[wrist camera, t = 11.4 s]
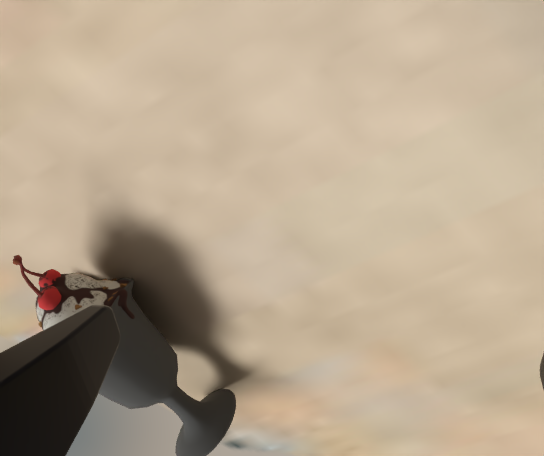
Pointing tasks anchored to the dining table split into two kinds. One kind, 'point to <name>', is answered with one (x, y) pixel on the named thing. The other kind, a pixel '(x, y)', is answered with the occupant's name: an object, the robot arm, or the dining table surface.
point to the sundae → (136, 357)
